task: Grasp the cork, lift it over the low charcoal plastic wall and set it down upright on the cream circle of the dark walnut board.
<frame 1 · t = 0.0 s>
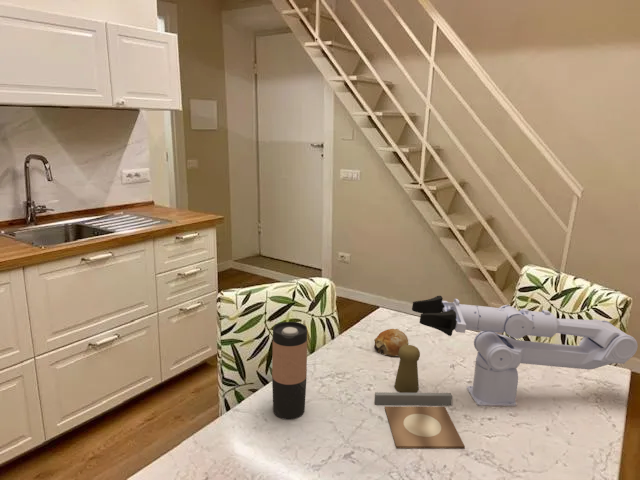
hand: (416, 312, 109), 22 cm above the table, tool horizontal, fingers open, 7 cm apart
walnut board: (422, 427, 102), on the table
bread roll: (391, 350, 138), on the table
cork: (406, 388, 118), on the table
low wall: (412, 403, 111), on the table
travel mug: (288, 411, 107), on the table
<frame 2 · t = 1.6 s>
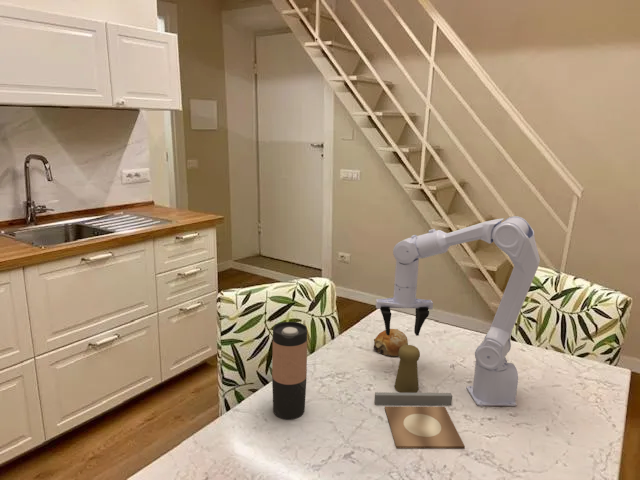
hand: (402, 333, 124), 10 cm above the table, tool pointing down, fingers open, 7 cm apart
nothing on the table moved.
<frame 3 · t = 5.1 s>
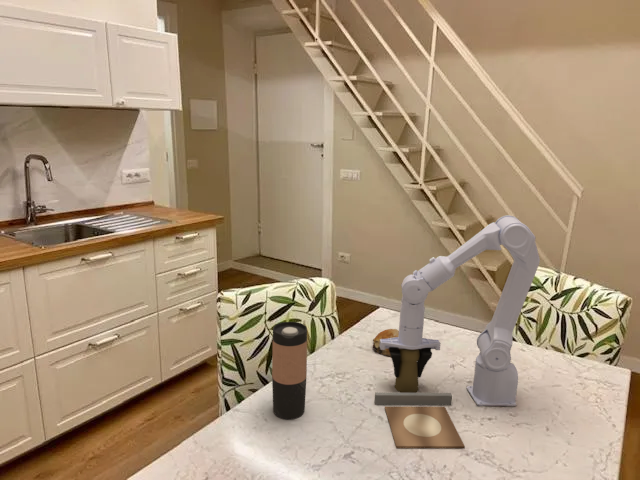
hand: (407, 375, 117), 3 cm above the table, tool pointing down, fingers closed on cork, 5 cm apart
cork: (406, 388, 118), on the table, touching gripper
everything else where it was.
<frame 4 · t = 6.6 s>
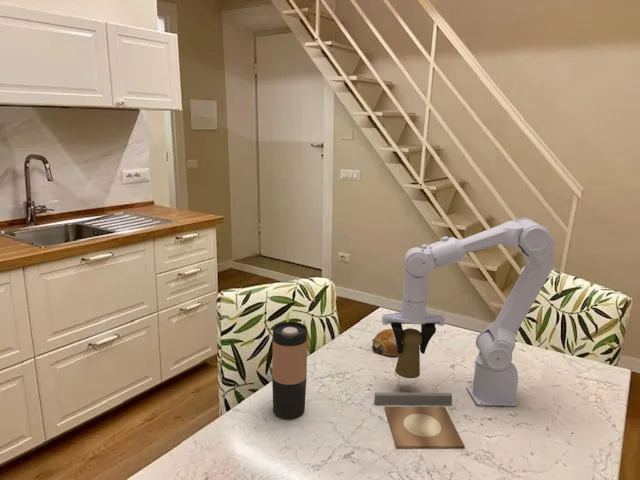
hand: (410, 351, 114), 10 cm above the table, tool pointing down, fingers closed on cork, 5 cm apart
cork: (407, 372, 116), point 5 cm above the table, touching gripper
everything else where it was.
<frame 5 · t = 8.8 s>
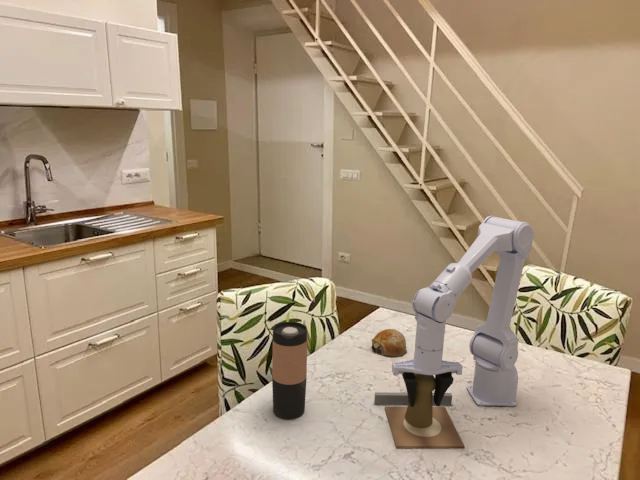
hand: (423, 403, 101), 6 cm above the table, tool pointing down, fingers closed on cork, 5 cm apart
cork: (418, 419, 104), point 1 cm above the table, touching gripper, walnut board
everything else where it was.
when the fingers open (5 cm above the table, at t = 9.8 s): cork stays where it is, resting on walnut board.
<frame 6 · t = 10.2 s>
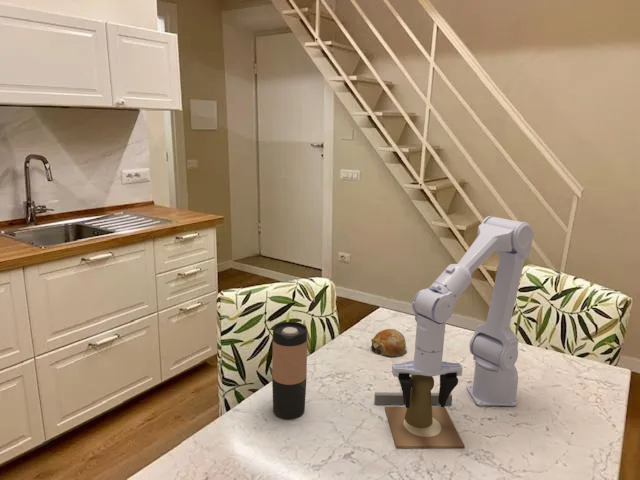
hand: (424, 404, 101), 5 cm above the table, tool pointing down, fingers open, 7 cm apart
cork: (418, 420, 104), resting on walnut board
everything else where it was.
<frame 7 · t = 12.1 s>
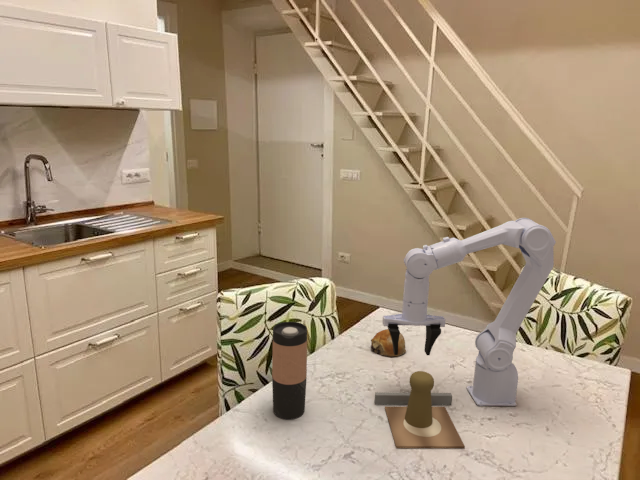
hand: (411, 353, 113), 10 cm above the table, tool pointing down, fingers open, 7 cm apart
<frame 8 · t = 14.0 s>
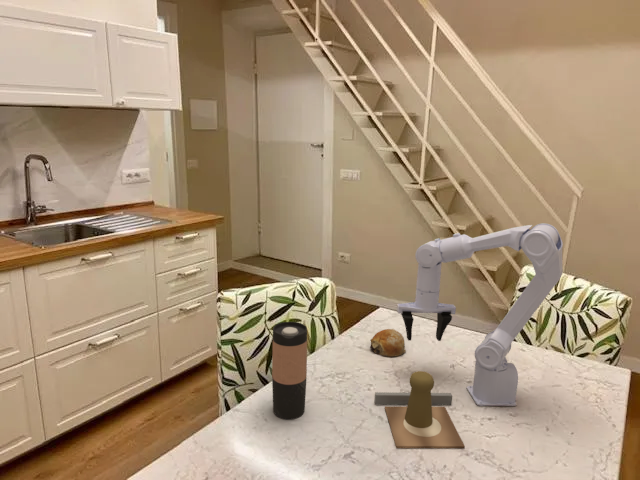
hand: (423, 339, 122), 10 cm above the table, tool pointing down, fingers open, 7 cm apart
at the end: cork 1.8 cm off-centre on the walnut board, point 0.4 cm above the walnut board's base; cork tilted 0°; the gripper is holding nothing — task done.
